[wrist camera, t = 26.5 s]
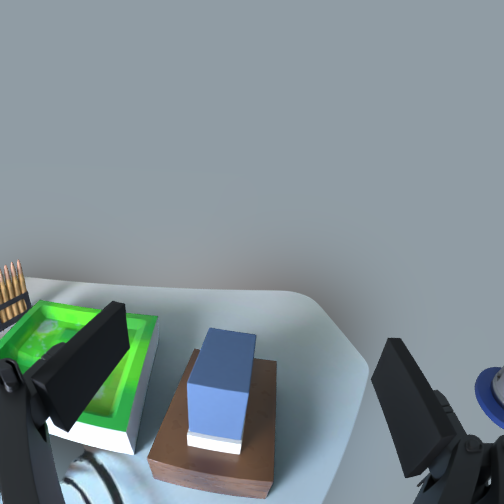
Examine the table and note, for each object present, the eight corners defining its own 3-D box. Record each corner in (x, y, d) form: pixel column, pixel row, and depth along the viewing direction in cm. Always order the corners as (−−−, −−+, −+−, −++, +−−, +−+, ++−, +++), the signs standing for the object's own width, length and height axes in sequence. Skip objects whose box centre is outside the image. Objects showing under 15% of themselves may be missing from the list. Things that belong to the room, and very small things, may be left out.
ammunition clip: (-2, 332, 35) (-17, 275, 31) (-6, 329, 35) (-20, 272, 32) (33, 312, 45) (23, 259, 41) (28, 309, 45) (19, 257, 42)
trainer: (251, 370, 35) (259, 314, 33) (239, 454, 22) (249, 398, 19) (213, 365, 36) (216, 307, 33) (187, 445, 22) (183, 386, 20)
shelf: (271, 385, 40) (276, 360, 38) (265, 499, 20) (273, 481, 19) (194, 373, 40) (194, 348, 39) (153, 478, 21) (146, 458, 19)
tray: (159, 339, 47) (157, 316, 46) (134, 454, 23) (125, 432, 22) (44, 322, 43) (39, 299, 42) (-18, 403, 19) (-32, 377, 18)
